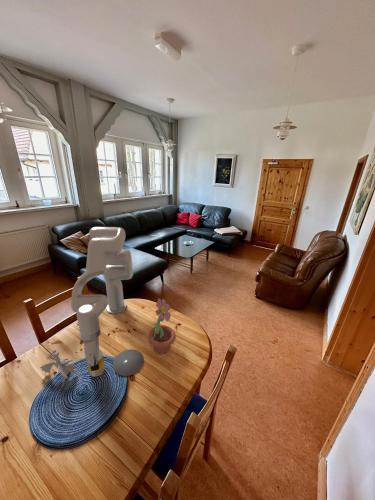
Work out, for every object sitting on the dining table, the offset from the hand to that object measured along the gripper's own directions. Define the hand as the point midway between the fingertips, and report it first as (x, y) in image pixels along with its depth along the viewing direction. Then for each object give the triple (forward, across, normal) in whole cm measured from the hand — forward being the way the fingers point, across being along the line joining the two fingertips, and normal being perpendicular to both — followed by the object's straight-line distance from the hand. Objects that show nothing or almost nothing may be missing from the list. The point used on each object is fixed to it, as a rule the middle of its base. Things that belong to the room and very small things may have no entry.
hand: (95, 362), depth 92 cm
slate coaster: (+5, 0, +14) cm, 15 cm away
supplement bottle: (+5, 0, 0) cm, 5 cm away
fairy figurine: (+5, -2, -14) cm, 15 cm away
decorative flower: (+5, -3, +31) cm, 32 cm away
